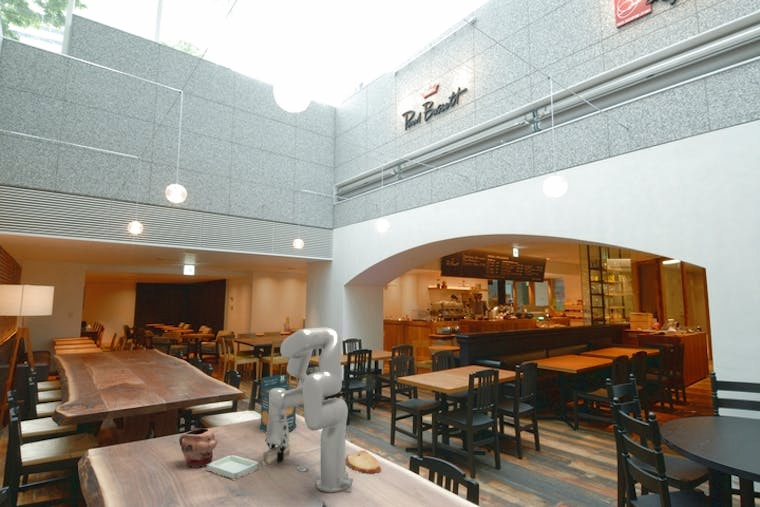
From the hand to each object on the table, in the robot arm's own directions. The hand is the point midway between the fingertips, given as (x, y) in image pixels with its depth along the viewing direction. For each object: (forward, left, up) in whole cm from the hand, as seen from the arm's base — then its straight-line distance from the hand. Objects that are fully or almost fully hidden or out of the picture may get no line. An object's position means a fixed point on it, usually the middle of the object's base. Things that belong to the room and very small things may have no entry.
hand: (276, 459), depth 173 cm
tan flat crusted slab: (-36, -16, -1) cm, 40 cm away
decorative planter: (+29, +20, -1) cm, 35 cm away
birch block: (0, 0, 0) cm, 0 cm away
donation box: (+32, -32, -1) cm, 45 cm away
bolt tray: (+9, +16, 0) cm, 18 cm away
